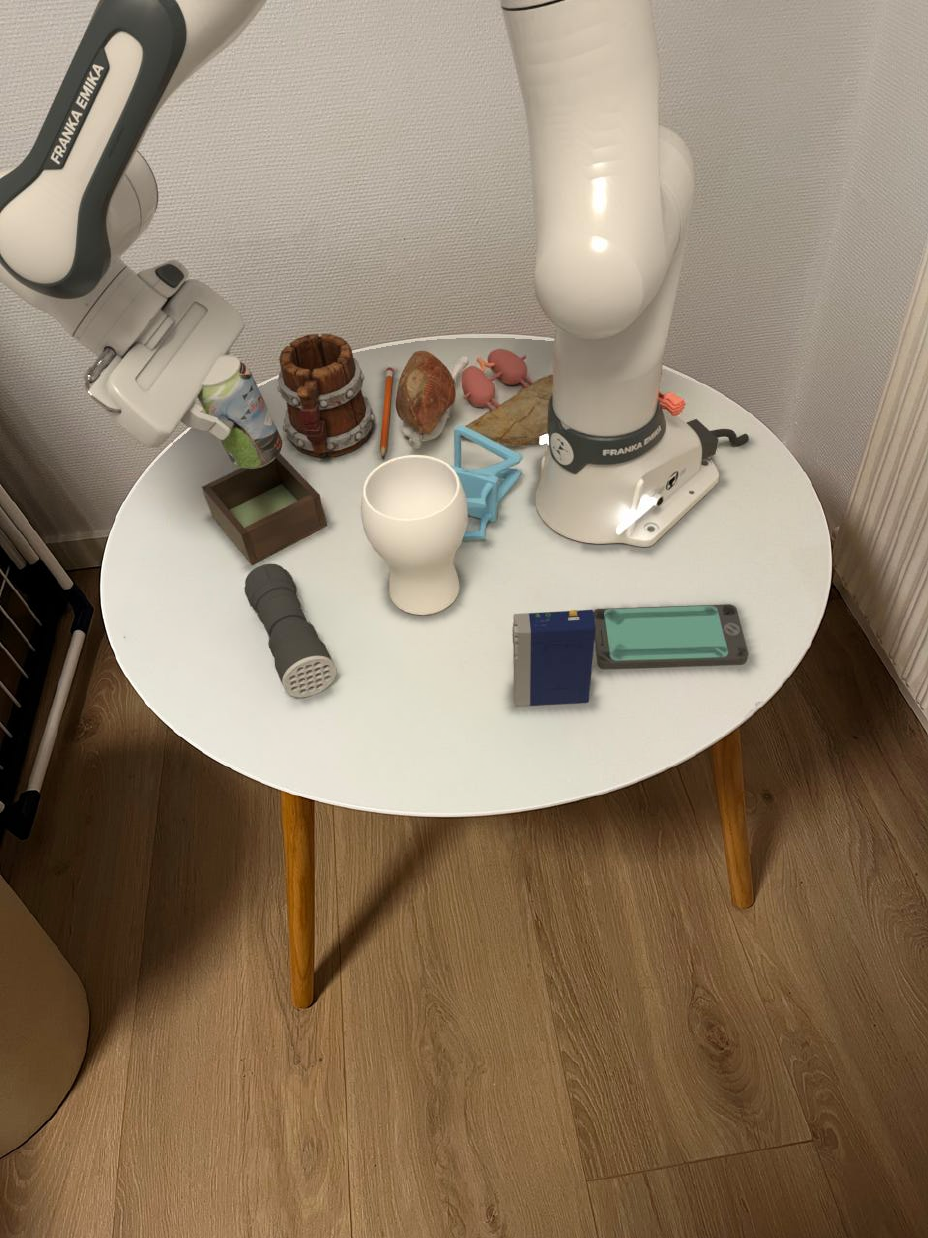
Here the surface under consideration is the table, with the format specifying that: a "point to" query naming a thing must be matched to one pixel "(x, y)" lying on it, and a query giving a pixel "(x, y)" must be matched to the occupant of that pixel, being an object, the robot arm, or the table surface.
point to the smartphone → (669, 636)
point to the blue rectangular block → (553, 657)
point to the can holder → (265, 508)
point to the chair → (484, 479)
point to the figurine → (414, 434)
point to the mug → (323, 396)
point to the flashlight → (289, 632)
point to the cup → (416, 529)
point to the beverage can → (241, 413)
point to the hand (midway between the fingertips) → (241, 413)
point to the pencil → (386, 411)
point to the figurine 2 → (503, 366)
